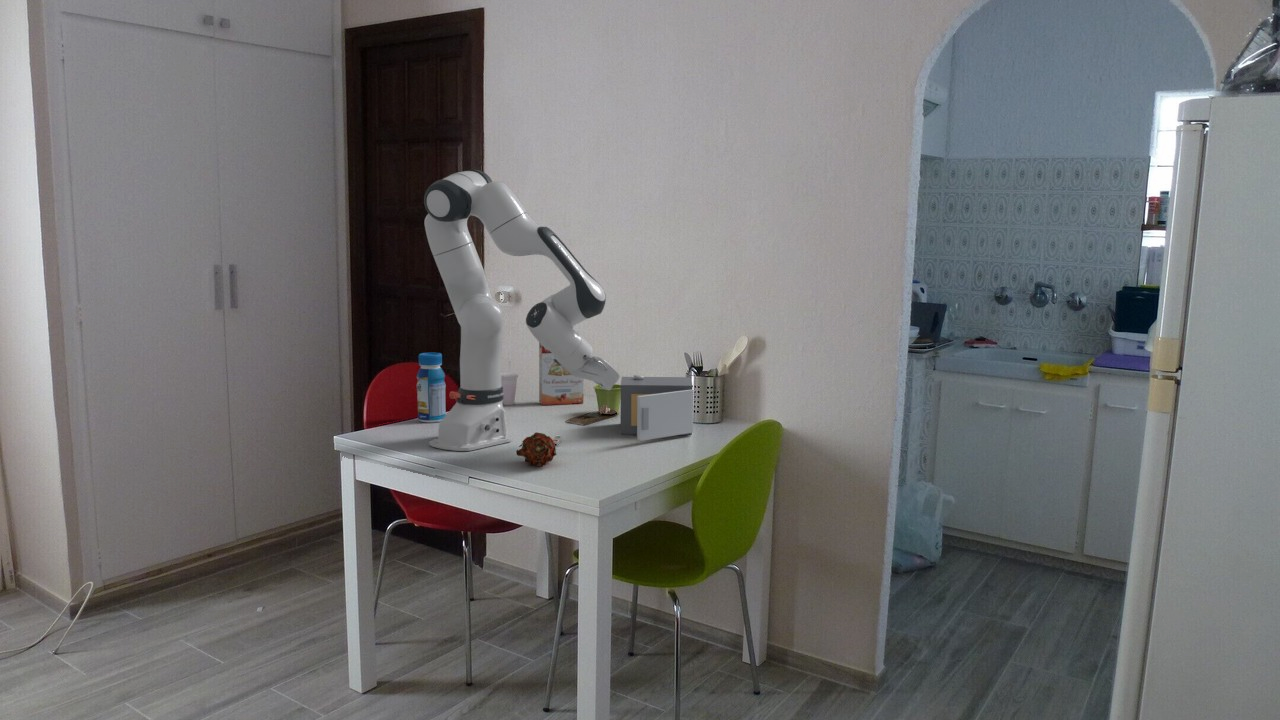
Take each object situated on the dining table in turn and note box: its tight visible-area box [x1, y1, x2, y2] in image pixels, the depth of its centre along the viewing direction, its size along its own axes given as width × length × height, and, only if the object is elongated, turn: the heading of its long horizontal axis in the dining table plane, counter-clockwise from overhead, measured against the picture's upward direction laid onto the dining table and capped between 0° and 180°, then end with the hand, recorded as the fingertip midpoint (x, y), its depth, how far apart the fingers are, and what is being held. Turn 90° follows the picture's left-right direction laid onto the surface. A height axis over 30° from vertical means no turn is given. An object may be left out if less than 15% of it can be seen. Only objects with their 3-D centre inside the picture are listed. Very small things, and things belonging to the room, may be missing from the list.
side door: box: [636, 389, 694, 442], centre depth 251 cm, size 2×18×12 cm, turn 125°
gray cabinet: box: [620, 374, 694, 436], centre depth 264 cm, size 14×20×15 cm
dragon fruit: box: [515, 432, 557, 467], centre depth 226 cm, size 8×8×12 cm
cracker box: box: [538, 342, 585, 406], centre depth 301 cm, size 14×6×21 cm, turn 105°
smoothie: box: [501, 360, 519, 406], centre depth 300 cm, size 6×6×14 cm
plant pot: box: [592, 383, 621, 415], centre depth 286 cm, size 9×9×9 cm
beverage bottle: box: [415, 352, 447, 424], centre depth 274 cm, size 8×8×20 cm
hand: (608, 387), depth 242 cm, fingers closed
